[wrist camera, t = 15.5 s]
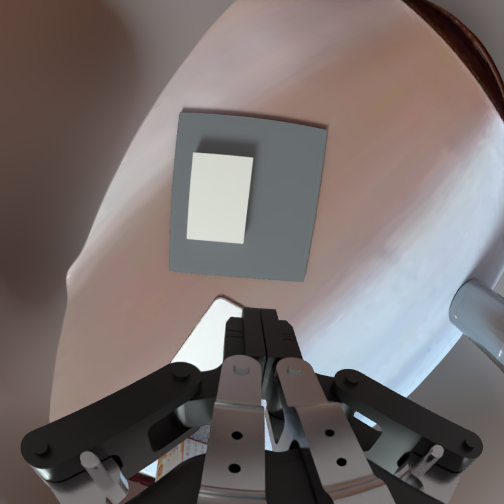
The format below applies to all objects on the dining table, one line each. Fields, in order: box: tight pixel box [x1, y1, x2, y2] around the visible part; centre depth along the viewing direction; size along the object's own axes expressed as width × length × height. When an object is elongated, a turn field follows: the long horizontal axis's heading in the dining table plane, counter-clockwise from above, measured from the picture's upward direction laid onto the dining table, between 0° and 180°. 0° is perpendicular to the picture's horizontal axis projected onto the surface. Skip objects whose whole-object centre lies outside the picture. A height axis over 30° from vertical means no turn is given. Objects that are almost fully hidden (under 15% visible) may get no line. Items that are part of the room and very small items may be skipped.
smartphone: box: [170, 297, 243, 371], centre depth 37 cm, size 7×1×15 cm
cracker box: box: [155, 438, 208, 482], centre depth 36 cm, size 14×6×21 cm, turn 145°
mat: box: [169, 112, 327, 282], centre depth 30 cm, size 16×18×1 cm
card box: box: [187, 153, 253, 244], centre depth 29 cm, size 2×9×6 cm
